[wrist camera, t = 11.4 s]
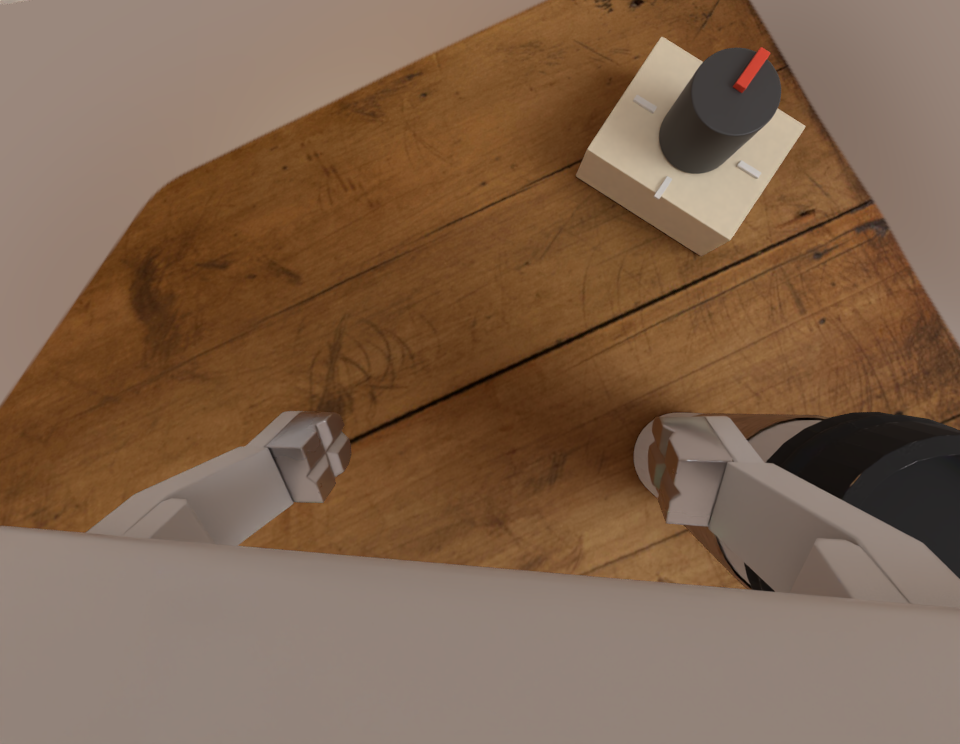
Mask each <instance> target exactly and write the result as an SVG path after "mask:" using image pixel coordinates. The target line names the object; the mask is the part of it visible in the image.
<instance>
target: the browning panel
mask: <svg viewBox="0 0 960 744" xmlns="http://www.w3.org/2000/svg"><path fill="white" fill-rule="evenodd" d="M702 63H703V62H702V61H700V60H699V59H697V58H696V57H694V56H692V55H691V54H689V53H688V52H686V51H684V50H683V49H681V48H680V47H678V46H676V45H675V44H673V43H672V42H670V41H668V40H667V39H665V38H664V37H661V38H660V39H659V41H658V42H657V44H656V45H655V47H654V48H653V50H652V51H651V53H650V54H649V56H648V58H647V59H646V61H645V62H644V64H643V65H642V67H641V68H640V70H639V71H638V73H637V74H636V76H635V77H634V79H633V80H632V82H631V83H630V85H629V86H628V88H627V89H626V91H625V92H624V94H623V95H622V97H621V98H620V100H619V101H618V103H617V105H616V106H615V108H614V109H613V111H612V112H611V114H610V115H609V117H608V118H607V120H606V121H605V123H604V124H603V126H602V127H601V129H600V130H599V132H598V133H597V135H596V136H595V138H594V139H593V141H592V142H591V144H590V145H589V147H588V149H587V151H586V153H585V155H584V158H583V160H582V162H581V164H580V167H579V169H578V171H577V174H576V177H578V178H579V179H581V180H582V181H584V182H585V183H587V184H589V185H590V186H592V187H593V188H595V189H596V190H598V191H600V192H601V193H603V194H604V195H606V196H607V197H609V198H610V199H612V200H614V201H615V202H617V203H618V204H620V205H621V206H623V207H625V208H626V209H628V210H629V211H631V212H632V213H634V214H635V215H637V216H639V217H640V218H642V219H643V220H645V221H646V222H648V223H650V224H651V225H653V226H654V227H656V228H657V229H659V230H661V231H662V232H664V233H665V234H667V235H668V236H670V237H671V238H673V239H675V240H676V241H678V242H679V243H681V244H682V245H684V246H686V247H687V248H689V249H690V250H692V251H693V252H695V253H696V254H698V255H700V256H703V255H705V254H706V253H708V252H710V251H712V250H714V249H715V248H717V247H719V246H721V245H722V244H724V243H726V242H728V241H730V240H731V238H732V237H733V235H734V234H735V232H736V231H737V229H738V228H739V226H740V225H741V223H742V222H743V220H744V219H745V217H746V216H747V214H748V213H749V211H750V210H751V208H752V207H753V205H754V204H755V202H756V201H757V199H758V198H759V196H760V195H761V193H762V192H763V190H764V189H765V187H766V186H767V184H768V183H769V181H770V180H771V178H772V177H773V175H774V174H775V172H776V170H777V169H778V167H779V166H780V164H781V163H782V161H783V160H784V158H785V157H786V155H787V154H788V152H789V151H790V149H791V148H792V146H793V145H794V143H795V142H796V140H797V139H798V137H799V136H800V134H801V133H802V131H803V130H804V128H805V125H803V124H801V123H800V122H798V121H796V120H795V119H793V118H792V117H790V116H788V115H787V114H785V113H784V112H782V111H780V110H779V109H777V110H776V112H775V114H774V116H773V117H772V119H771V120H770V121H769V122H768V123H767V124H766V125H765V126H764V127H763V128H762V129H761V130H760V131H758V132H757V133H756V134H755V135H754V136H753V137H752V138H751V139H750V140H748V141H747V142H746V143H745V144H744V145H743V146H742V147H741V148H740V149H738V150H737V151H736V152H735V153H734V154H733V155H732V156H731V157H730V158H729V159H727V160H726V161H725V162H724V163H723V164H722V165H721V166H719V167H718V168H716V169H714V170H712V171H709V172H706V173H700V174H693V173H687V172H684V171H681V170H679V169H677V168H676V167H674V166H673V165H672V164H671V163H670V162H669V161H668V160H667V159H666V158H665V156H664V154H663V152H662V150H661V147H660V142H659V132H660V127H661V124H662V122H663V119H664V118H665V116H666V114H667V113H668V112H669V110H670V109H671V107H672V106H673V104H674V103H675V101H676V100H677V98H678V97H679V95H680V94H681V92H682V91H683V90H684V88H685V87H686V85H687V84H688V82H689V81H690V79H691V78H692V76H693V75H694V73H695V72H696V70H697V69H698V68H699V66H700V65H701V64H702Z"/></svg>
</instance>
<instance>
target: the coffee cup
mask: <svg viewBox="0 0 960 744" xmlns="http://www.w3.org/2000/svg"><path fill="white" fill-rule="evenodd" d="M701 416H727V417H729V418H730V419H731V420H732V421H733V423H734V424H735V425H736V427H737V428H738V429H739V430H740V432H741V433H742V434H743V436H744V437H745V438H746V440H747V441H748V442H749V443H750V445H751V446H752V447H753V449H754V450H755V451H756V452H757V454H758V455H759V456H760V458H761V459H762V460H763V462H764V463H773V464H775V465H777V466H779V467H781V468H782V469H784V470H786V471H788V472H790V473H792V474H794V475H796V476H798V477H799V478H801V479H803V480H805V481H807V482H809V483H811V484H813V485H815V486H816V487H818V488H820V489H822V490H824V491H826V492H828V493H830V494H831V495H833V496H835V497H837V498H839V499H841V500H843V501H845V502H847V503H848V504H850V505H852V506H854V507H856V508H858V509H860V510H862V511H864V512H865V513H867V514H869V515H871V516H873V517H875V518H877V519H879V520H881V521H882V522H884V523H886V524H888V525H890V526H892V527H894V528H896V529H898V530H899V531H901V532H903V533H905V534H907V535H909V536H911V537H913V538H915V539H916V540H918V541H920V542H922V543H924V544H925V545H926V546H927V547H928V548H929V549H930V550H931V551H932V552H933V553H934V554H935V555H936V556H937V557H938V558H939V559H940V560H941V561H942V562H943V563H944V564H945V565H946V566H947V567H948V568H949V569H950V570H951V571H952V572H953V573H954V574H955V575H956V576H957V577H958V578H959V579H960V430H957V429H955V428H952V427H949V426H947V425H944V424H941V423H938V422H936V421H933V420H930V419H925V418H919V417H912V416H906V415H892V414H886V413H880V412H861V413H849V414H844V415H840V416H836V417H831V418H830V417H824V416H818V415H777V414H715V413H714V414H701V413H669V414H665V415H662V416H660V417H701ZM653 421H654V420H653ZM653 421H651V422H650V423H649V424H648V425H647V426H646V427H645V428H644V429H643V430H642V432H641V433H640V435H639V436H638V439H637V441H636V444H635V448H634V465H635V469H636V472H637V474H638V476H639V479H640V480H641V481H642V483H643V484H644V486H645V487H646V488H647V489H648V490H649V491H650V492H651V493H652V494H653V495H655V496H656V497H657V498H658V495H659V490H658V489H657V488H656V487H655V486H653V485H652V482H651V479H650V475H649V470H648V451H649V445H651V444H652V443H653V442H654V441H655V439H654V436H653V434H652V431H651V430H652V425H653ZM684 526H685V527H686V528H687V529H688V530H689V531H690V532H691V533H692V534H693V535H694V536H695V537H696V538H697V539H698V540H699V541H700V542H701V543H702V544H703V545H704V546H705V547H706V548H707V549H708V551H709V552H710V553H711V554H712V555H713V556H714V557H715V558H716V559H717V560H718V561H719V562H720V563H721V564H722V565H723V566H724V567H725V568H726V569H727V570H728V571H729V572H730V573H731V574H732V575H733V576H734V577H735V578H736V579H737V580H738V581H739V582H740V583H741V584H742V585H743V586H744V587H746V588H747V589H748V590H758V591H770V592H775V591H774V590H773V589H772V588H771V587H770V586H769V585H768V584H767V583H766V582H765V581H764V580H763V579H761V578H760V577H759V576H758V575H757V574H756V573H755V572H754V571H753V570H752V569H751V568H750V567H749V566H748V565H746V564H745V563H744V562H743V561H742V560H741V559H740V558H739V557H738V556H737V555H736V554H735V553H734V552H733V551H731V550H730V549H729V548H728V547H727V546H726V545H725V544H724V543H723V542H722V541H721V540H720V539H719V538H718V537H717V536H715V535H714V534H713V533H712V532H711V531H710V530H709V529H708V527H705V526H693V525H684Z"/></svg>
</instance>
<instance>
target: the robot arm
mask: <svg viewBox="0 0 960 744" xmlns="http://www.w3.org/2000/svg"><path fill="white" fill-rule="evenodd" d="M343 427H344V422H343V420H342V417H341V415H340V414H338V413H336V412H311V411H304V412H303V411H287V412H283V413H282V414H280V415H279V416H278V417H277V418H276V419H275V420H274V421H273V422H272V423H271V424H269V425H268V426H267V427H266V428H265V429H264V430H263V431H262V432H261V433H260V434H258V435H257V436H256V437H255V438H254V439H253V440H252V441H251V442H250V443H249V444H247V445H246V446H245V447H238V448H236V449H234V450H231V451H229V452H227V453H225V454H222V455H220V456H218V457H216V458H214V459H211V460H209V461H207V462H205V463H203V464H200V465H198V466H196V467H194V468H191V469H189V470H187V471H185V472H183V473H180V474H178V475H176V476H174V477H172V478H169V479H167V480H165V481H163V482H160V483H158V484H156V485H154V486H152V487H149V488H147V489H145V490H143V491H141V492H138V493H136V494H134V495H133V496H132V497H130V498H129V499H128V500H127V501H125V502H124V503H123V504H121V505H120V506H119V507H118V508H116V509H115V510H114V511H113V512H111V513H110V514H109V515H107V516H106V517H105V518H104V519H102V520H101V521H100V522H99V523H97V524H96V525H95V526H93V527H92V528H91V529H90V530H88V531H87V532H86V533H81V532H70V531H58V530H46V529H35V528H23V527H11V526H0V744H960V579H959V578H958V577H957V576H956V575H955V574H954V573H953V572H952V571H951V570H950V569H949V568H948V567H947V566H946V565H945V564H944V563H943V562H942V561H941V560H940V559H939V558H938V557H937V556H936V555H935V554H934V553H933V552H932V551H931V550H930V549H929V548H928V547H927V546H926V545H925V544H924V543H922V542H920V541H918V540H916V539H915V538H913V537H911V536H909V535H907V534H905V533H903V532H901V531H899V530H898V529H896V528H894V527H892V526H890V525H888V524H886V523H884V522H882V521H881V520H879V519H877V518H875V517H873V516H871V515H869V514H867V513H865V512H864V511H862V510H860V509H858V508H856V507H854V506H852V505H850V504H848V503H847V502H845V501H843V500H841V499H839V498H837V497H835V496H833V495H831V494H830V493H828V492H826V491H824V490H822V489H820V488H818V487H816V486H815V485H813V484H811V483H809V482H807V481H805V480H803V479H801V478H799V477H798V476H796V475H794V474H792V473H790V472H788V471H786V470H784V469H782V468H781V467H779V466H777V465H775V464H773V463H764V462H763V460H762V459H761V458H760V456H759V455H758V454H757V452H756V451H755V450H754V449H753V447H752V446H751V445H750V443H749V442H748V441H747V440H746V438H745V437H744V436H743V434H742V433H741V432H740V430H739V429H738V428H737V427H736V425H735V424H734V423H733V421H732V420H731V419H730V418H729V417H727V416H701V417H655V418H654V421H653V425H652V430H651V431H652V434H653V436H654V439H655V441H654V442H653V443H652V444H651V445H649V451H648V470H649V475H650V479H651V482H652V485H653V486H655V487H656V488H657V489H658V490H659V495H658V502H659V505H660V508H661V510H662V513H663V516H664V519H665V522H666V523H669V524H681V525H693V526H705V527H708V529H709V530H710V531H711V532H712V533H713V534H714V535H715V536H717V537H718V538H719V539H720V540H721V541H722V542H723V543H724V544H725V545H726V546H727V547H728V548H729V549H730V550H731V551H733V552H734V553H735V554H736V555H737V556H738V557H739V558H740V559H741V560H742V561H743V562H744V563H745V564H746V565H748V566H749V567H750V568H751V569H752V570H753V571H754V572H755V573H756V574H757V575H758V576H759V577H760V578H761V579H763V580H764V581H765V582H766V583H767V584H768V585H769V586H770V587H771V588H772V589H773V590H774V591H775V592H770V591H758V590H747V589H735V588H723V587H711V586H700V585H688V584H676V583H664V582H652V581H640V580H629V579H617V578H606V577H594V576H583V575H571V574H560V573H548V572H537V571H525V570H513V569H502V568H490V567H479V566H467V565H455V564H444V563H432V562H420V561H408V560H397V559H385V558H373V557H361V556H350V555H338V554H326V553H315V552H303V551H291V550H280V549H268V548H256V547H245V546H237V545H239V544H240V543H241V542H243V541H244V540H245V539H247V538H248V537H250V536H251V535H252V534H254V533H255V532H256V531H258V530H259V529H260V528H262V527H263V526H264V525H266V524H267V523H268V522H270V521H271V520H272V519H274V518H275V517H276V516H278V515H279V514H280V513H282V512H283V511H284V510H286V509H287V508H288V507H290V506H291V505H292V504H293V502H311V503H323V502H324V501H325V499H326V498H327V496H328V495H329V493H330V492H331V490H332V489H333V487H334V486H335V484H336V482H335V477H336V476H338V475H340V474H341V473H343V472H344V471H345V469H346V468H347V466H348V464H349V461H350V457H351V444H350V441H349V438H348V437H347V436H346V435H345V434H344V433H343V432H342V430H343Z"/></svg>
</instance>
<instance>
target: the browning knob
mask: <svg viewBox="0 0 960 744" xmlns="http://www.w3.org/2000/svg"><path fill="white" fill-rule="evenodd" d="M769 55H770V52H768V51H767V50H765V49H764V48H762V47H761V48H760V49H759V50H758V51H757V52H755V51H752V50H749V49H745V48H729V49H725V50H721V51H719V52H717V53H715V54H713V55H711V56H710V57H709V58H707V59H706V60H705V61H704V62H703V63H702V64H701V65H700V66H699V68H698V69H697V70H696V72H695V73H694V75H693V76H692V78H691V79H690V81H689V82H688V84H687V85H686V87H685V88H684V90H683V91H682V92H681V94H680V95H679V97H678V98H677V100H676V101H675V103H674V104H673V106H672V107H671V109H670V110H669V112H668V113H667V114H666V116H665V118H664V119H663V122H662V124H661V127H660V132H659V142H660V147H661V150H662V152H663V154H664V156H665V158H666V159H667V160H668V161H669V162H670V163H671V164H672V165H673V166H674V167H676V168H677V169H679V170H681V171H684V172H687V173H693V174H700V173H706V172H709V171H712V170H714V169H716V168H718V167H719V166H721V165H722V164H723V163H724V162H725V161H726V160H727V159H729V158H730V157H731V156H732V155H733V154H734V153H735V152H736V151H737V150H738V149H740V148H741V147H742V146H743V145H744V144H745V143H746V142H747V141H748V140H750V139H751V138H752V137H753V136H754V135H755V134H756V133H757V132H758V131H760V130H761V129H762V128H763V127H764V126H765V125H766V124H767V123H768V122H769V121H770V120H771V119H772V117H773V116H774V114H775V112H776V110H777V108H778V106H779V102H780V98H781V84H780V80H779V77H778V74H777V72H776V70H775V68H774V67H773V65H772V64H771V63H770V62H769V61H768V60H767V58H768V56H769Z"/></svg>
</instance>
